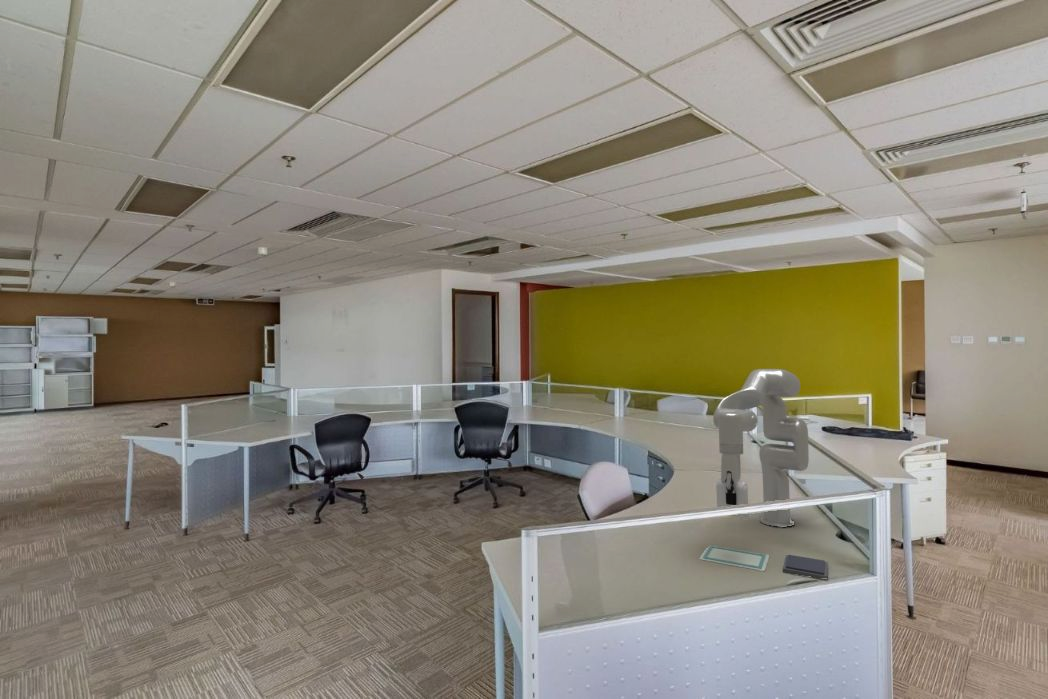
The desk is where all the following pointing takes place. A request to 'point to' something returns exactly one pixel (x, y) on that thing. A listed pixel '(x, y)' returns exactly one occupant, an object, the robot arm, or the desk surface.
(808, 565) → the ink pad
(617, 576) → the desk surface
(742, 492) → the photo printer
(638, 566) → the desk surface
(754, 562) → the teal bordered white mat
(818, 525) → the desk surface
